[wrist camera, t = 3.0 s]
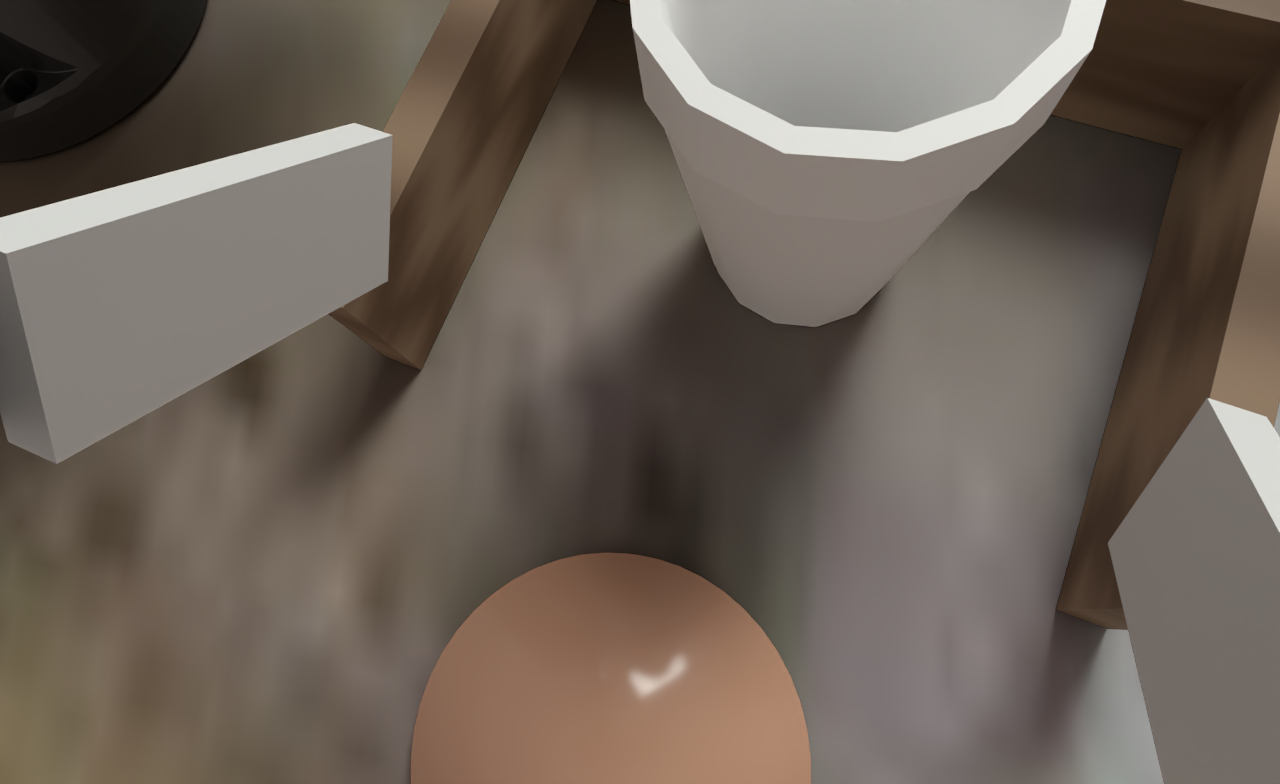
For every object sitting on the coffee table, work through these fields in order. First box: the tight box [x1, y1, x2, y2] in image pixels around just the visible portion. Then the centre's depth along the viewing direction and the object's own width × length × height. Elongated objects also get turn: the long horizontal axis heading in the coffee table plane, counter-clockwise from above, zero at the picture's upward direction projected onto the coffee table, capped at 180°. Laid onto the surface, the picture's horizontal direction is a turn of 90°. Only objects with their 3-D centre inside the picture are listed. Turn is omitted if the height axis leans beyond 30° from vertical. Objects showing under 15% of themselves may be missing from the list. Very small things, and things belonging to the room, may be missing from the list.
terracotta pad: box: [411, 552, 811, 784], centre depth 24 cm, size 12×12×1 cm
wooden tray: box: [329, 0, 1280, 630], centre depth 25 cm, size 18×25×6 cm
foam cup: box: [630, 0, 1106, 327], centre depth 22 cm, size 10×9×13 cm
